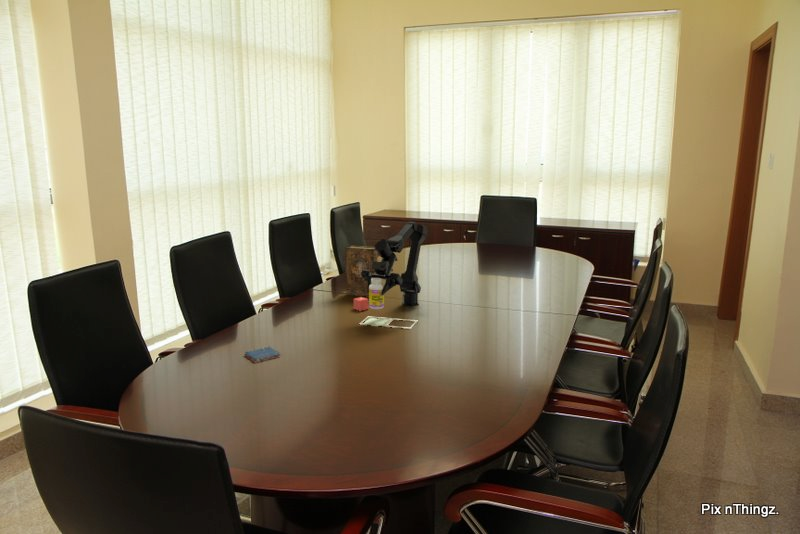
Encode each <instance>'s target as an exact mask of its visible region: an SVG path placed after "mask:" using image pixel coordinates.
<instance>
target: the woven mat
mask: <svg viewBox="0 0 800 534" xmlns="http://www.w3.org/2000/svg"><path fill="white" fill-rule="evenodd" d="M244 356H245V357H246V358H248V359H250V361H252V362H253V363H255V364H257V363H260V362H265V361H269V360H273V359H277V358H280V357H281V353H280V352H278V350H276V349H274V348H273V347H271V346H267V347H266V346H265V347H262V348H257V349H252V350H249V351H245V352H244Z"/></svg>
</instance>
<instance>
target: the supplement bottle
mask: <svg viewBox="0 0 800 534" xmlns="http://www.w3.org/2000/svg"><path fill="white" fill-rule="evenodd" d="M382 282H383V279H381V278H372V279H371V283H372V284H371V285H370V286H369V297H368V307H369V308H370V309H372V310H382V309H383V308H385V294H384V295H382V294H381V293H382V290H383V287H384V285H385V284H382Z"/></svg>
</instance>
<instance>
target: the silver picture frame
mask: <svg viewBox="0 0 800 534" xmlns="http://www.w3.org/2000/svg"><path fill="white" fill-rule="evenodd" d="M377 318H378V319H377ZM393 320H394V321H399V320H403V321H402V322H411V321H412V322H411V323H412V324H411V325H410V327H407V326H397V325H395V326H394V325H391V324H392V323H393V322H394V321H393ZM364 321H365V322H364ZM392 321H393V322H392ZM363 322H364V323H363ZM391 322H392V323H391ZM418 322H419V320H417V319H416V320H415V319H408V318H407V319H405V318H403V319H402V318H394V317H393V318H392V317H381V316H369V315H368V316H366V317H365V318H364V319H363V320H361V321H360V322H359V323H358V325H359V324H360V325H359V326H367V325H371V326H370V327H378V326H382V327H381V328H390V327H392V328H393V329H401V328H403V330H412V329H413V328H414V327H415V326H416V325H417V324H418ZM390 323H391V324H390ZM389 324H390V325H389Z"/></svg>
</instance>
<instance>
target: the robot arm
mask: <svg viewBox="0 0 800 534" xmlns="http://www.w3.org/2000/svg"><path fill="white" fill-rule="evenodd" d="M428 231H429V230H428V228H427V227H426V225H421V224H419V223H417V222H414V221H408V222H407V221H406V222H405V224H404V225H403V227H402V229H400V231H399V232H398V233H397V234H396V235H395V236H392V237H390V238H389V239H387V238H381V240H379V241H378V242H376V243H375V244H374V247H375V249H376V251H377V255H379V257H380V258H381V260H380V261H378V262H377V261H372V266H371V268H373V269H375V270H374V271H375V272H376V274H372V272H371V271H370V270H362V271H361V274H360V275H361V276H362V277H363V279H364V280H365V281H367V292H368V293H369V286H370V285H371V284H372V283H371V279H372V278H381V279H382V280H385V283H384V284H383V285H384V287H383V290H382V293H381V294H382V295H384V296H385V294H386V293H388V292H389V291H390V290H391V289H392V288H394V287H396V286H399V289H400V292H401V293H403V294H402V304H403V305H404V304H405V306H406V307H410V306H412V305H413V306H420V303H419V297H418V294H420V292H421V288H422V287H421V284H420V283H419V277H418V275H417V268H418V262H419V257H420V252H421V246H422V244H423V242H424V241H425V240H426V238H427V235H428ZM408 239H410V246H409V251H408V252H409V253H408V258H407V264H406V270H405V271H404V272H402V273H401V274H400V273H397V272H396V273H395V272H393V271H394V268H393V267H394V264H395V262H398V257H397V255H396V253H397V254H401V253H402V251H403V249H404V248H405V245H404V244H405V242H406V241H407V240H408Z"/></svg>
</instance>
